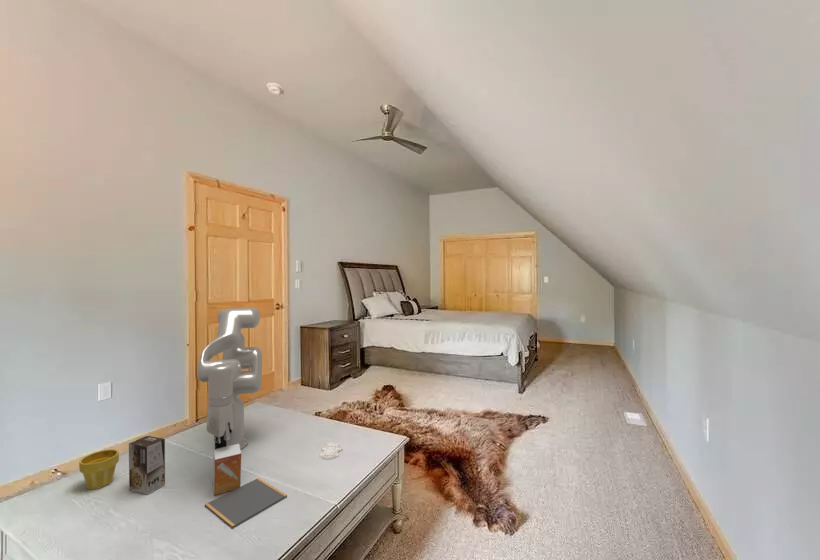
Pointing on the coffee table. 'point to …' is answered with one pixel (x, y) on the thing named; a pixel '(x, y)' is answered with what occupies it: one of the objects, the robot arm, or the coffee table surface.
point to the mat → (245, 502)
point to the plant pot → (99, 468)
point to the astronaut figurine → (330, 451)
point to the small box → (226, 468)
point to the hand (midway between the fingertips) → (220, 452)
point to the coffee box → (146, 464)
